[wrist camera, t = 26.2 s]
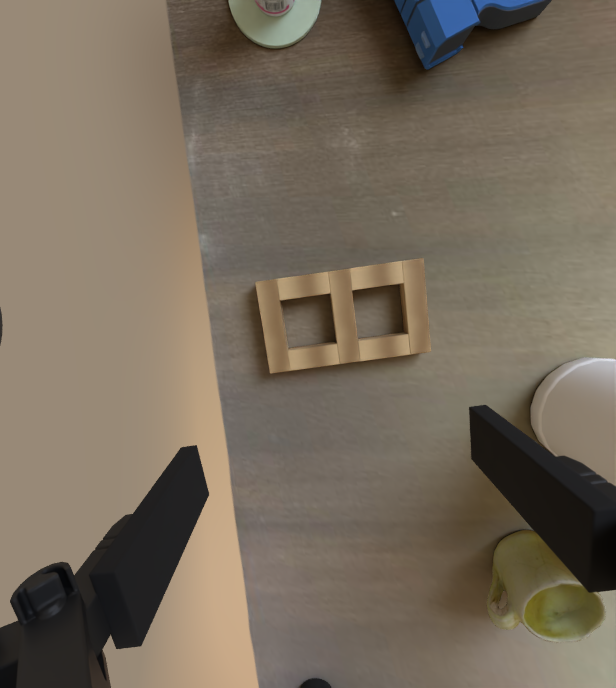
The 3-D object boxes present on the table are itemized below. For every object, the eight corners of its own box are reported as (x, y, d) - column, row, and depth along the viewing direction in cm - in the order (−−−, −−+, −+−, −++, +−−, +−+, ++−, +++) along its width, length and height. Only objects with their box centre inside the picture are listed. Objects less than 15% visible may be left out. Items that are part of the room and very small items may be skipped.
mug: (567, 516, 41) (625, 610, 32) (560, 559, 46) (608, 651, 37) (466, 520, 44) (494, 607, 35) (468, 560, 48) (493, 646, 40)
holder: (271, 369, 40) (269, 373, 38) (257, 282, 39) (255, 282, 37) (425, 349, 40) (431, 351, 38) (417, 259, 38) (423, 257, 36)
